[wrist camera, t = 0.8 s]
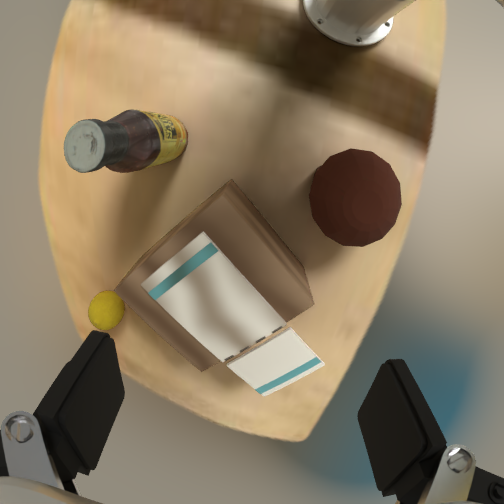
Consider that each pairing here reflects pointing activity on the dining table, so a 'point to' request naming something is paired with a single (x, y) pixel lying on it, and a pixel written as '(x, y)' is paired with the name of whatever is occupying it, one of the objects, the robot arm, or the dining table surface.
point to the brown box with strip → (217, 281)
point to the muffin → (355, 197)
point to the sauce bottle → (125, 142)
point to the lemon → (106, 310)
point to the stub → (276, 362)
